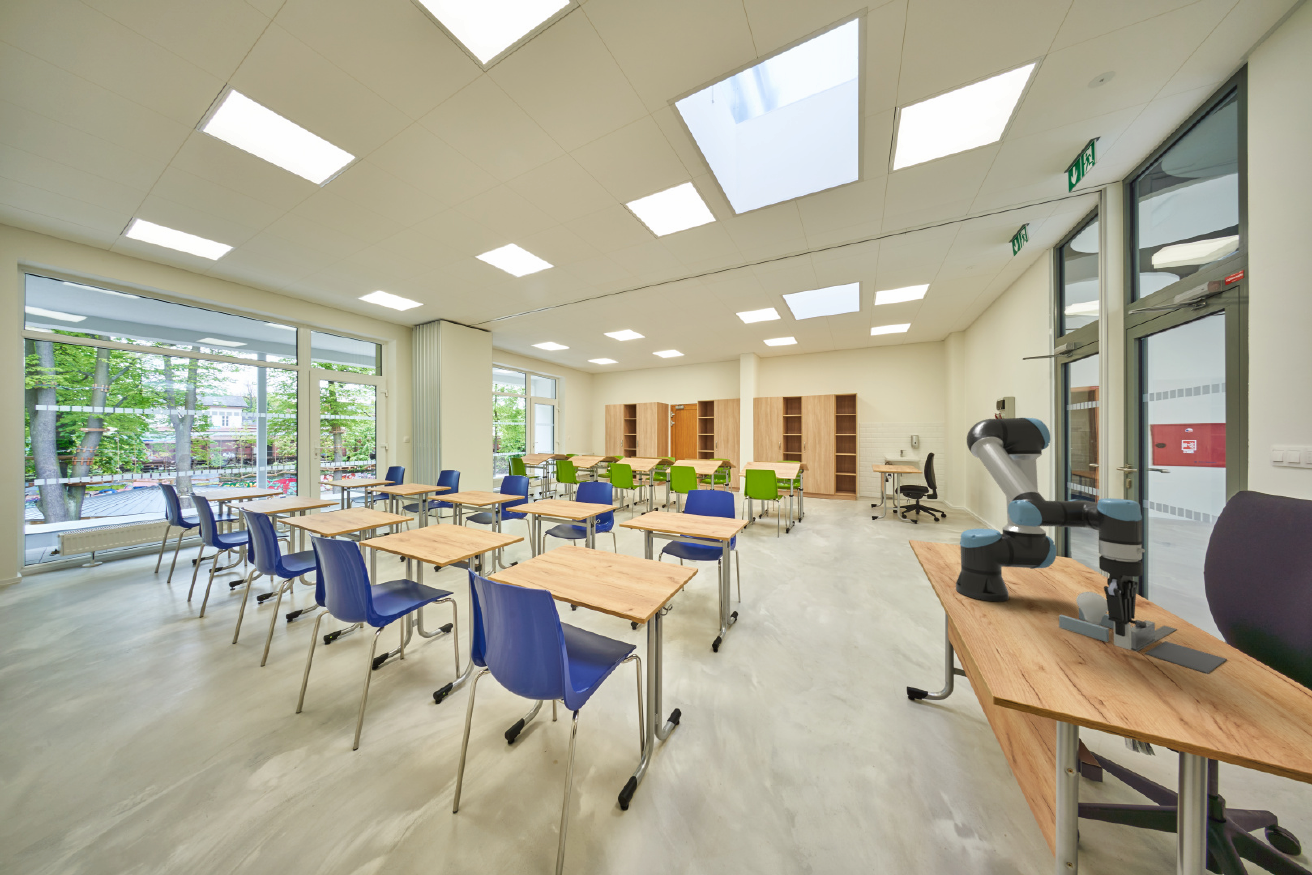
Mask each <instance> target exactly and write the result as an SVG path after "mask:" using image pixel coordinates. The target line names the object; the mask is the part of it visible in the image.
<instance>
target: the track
mask: <svg viewBox="0 0 1312 875" xmlns="http://www.w3.org/2000/svg"><path fill="white" fill-rule="evenodd" d="M1175 631H1178V630H1177V628H1174V627H1171V626H1167V625H1162V626H1160V627H1159V628H1157V629H1155V639H1154V640H1152V641H1150V642H1149V643H1147V644H1145V645H1143V646H1141V647H1139V648H1138V649H1133V648H1131V649H1130V650H1131V651H1134V652H1137V653H1138V652H1139V651H1142V650H1143V649H1145V648H1146V647H1148V646H1150V645H1152V644H1154V643H1156V642H1157V641H1159V640H1160V639H1162V638H1164V637H1166V636H1168V635H1169V634H1172V633H1173V632H1175Z"/></svg>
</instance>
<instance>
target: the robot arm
mask: <svg viewBox="0 0 1312 875" xmlns="http://www.w3.org/2000/svg"><path fill="white" fill-rule="evenodd" d="M1050 443H1051V433H1050V430H1049V428H1048V426H1047V425H1046V424H1045V423H1044V422H1043V421H1042V420H1040V419H1038V418H1033V417H1032V418H1031V417H1013V418H1012V417H1011V418H1008V417H1007V418H987V419H986V418H985V419H983V420H980V421H979V422H976V423H975V424H973V425H972V427H971V428H970V429H969V431H968V433H967V435H966V445H967V449H968V450H969V452H970V453H971V454H972V455H973V456H974V457H975V458H978V459H979V460H980V461H981V463H982V465H983V466H984V467H985V469H986V470H987V471H988V473H989V474H990V476H991V477H992V478H993V480H994V481H995V483H996V484H997V485H998V488H1000V489H1001V491H1002V492H1003V494H1004V495H1005V496H1006V497H1005V499H1006V514H1007V515H1006V517H1007V518H1006V521H1007V523H1006V525H1004V526H1003V527H1002V533H1001V532H1000V531H999V530H997V529H992V528H972V529H971V528H970V529H966V530H964V531H962V532H961V533H960V542H959V545H960V565H961V566H960V571H959V574H958V577H957V579H956V583H955V590H956V592H958V593H959V594H961V595H964V596H965V597H969V598H971V599H972V598H973V599H977V600H980V599H981V600H980V601H985V602H987V601H989V602H1005V601H1008V600H1009V599H1010V598H1009V593H1010V592H1009V589H1008V587H1007V586H1006V583H1005V580H1004V578H1003V574H1002V568H1020V569H1021V568H1023V569H1031V570H1032V569H1033V570H1035V569H1046V568H1048V567H1050V566H1052V564H1054V562H1055V560H1056V557H1057V546H1056V544H1055V541H1054V540H1053V539H1052V538H1051V537H1050V536H1048V535H1047V532H1046V530H1044V529H1043V528H1042V527H1059V528H1087V529H1091V530H1096V531H1098V553H1099V554H1100V556H1098V560H1099V562H1098V563H1099V569H1100V570H1101V571H1103V572H1106V573H1107V574H1109V576H1108V577H1107V580H1106V582H1107V585H1108V586H1106V585H1104V586H1103V591H1104V593H1105V597H1106V598H1105V599H1106V600H1107V606H1108V612H1107V614H1109V618H1108V620H1111V621H1113V624H1114V629H1113V645H1114V646H1116V647H1120V648H1122V649H1126V650H1130V649H1131V627H1132V624H1134V625H1135V624H1136V621H1135V620H1134V619H1135V617H1136V616H1135V614H1136V613H1135V612H1136V602H1137V601H1136V600H1137V589H1138V585H1139V583H1138V581H1135V580H1134V577H1135V578H1136V577H1142V576H1143V572H1144V570H1143V562H1142V561H1141V560H1142V559H1143V553H1146V550H1145V548H1142V544H1143V540H1142V539H1143V537H1142V535H1143V534H1142V532H1143V531H1142V529H1143V528H1142V525H1143V524H1142V522H1143V520H1142V519H1143V516H1142V511H1141V504H1140V503H1139V502H1138V501H1135V500H1132V499H1122V498H1105V497H1104V498H1099V499H1098V501H1097V502H1094V501H1091V500H1090V501H1089V500H1086V499H1077V498H1076V499H1069V500H1046V499H1045V498H1044V497H1043V496H1042V495H1041V493H1040V492H1039V490H1038V489H1039V488H1038V487H1039V486H1038V469H1037V466H1038V465H1037V460H1038V458H1040V457H1041V456H1042V455H1043V453H1042V452H1043V451H1044V450H1045V449H1047V448H1048V447H1049V445H1050Z"/></svg>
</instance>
